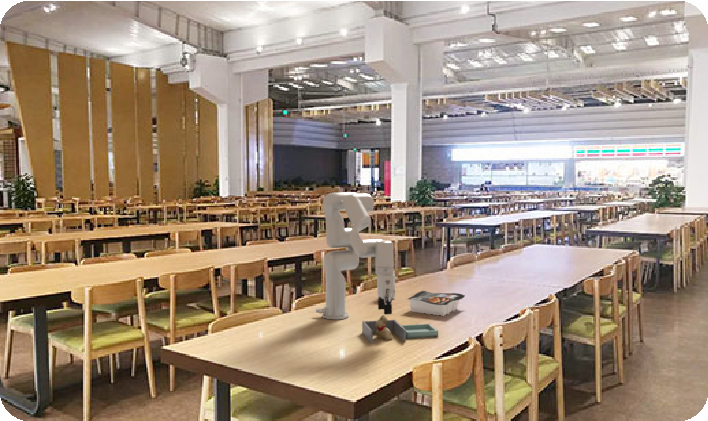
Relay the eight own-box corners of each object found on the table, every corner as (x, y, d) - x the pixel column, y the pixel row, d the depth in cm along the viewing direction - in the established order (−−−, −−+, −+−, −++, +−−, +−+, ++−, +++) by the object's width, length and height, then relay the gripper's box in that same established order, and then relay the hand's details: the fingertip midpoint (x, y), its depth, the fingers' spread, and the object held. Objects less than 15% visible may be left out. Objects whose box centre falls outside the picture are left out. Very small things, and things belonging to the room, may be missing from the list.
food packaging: (446, 303, 266) (403, 298, 277) (446, 319, 266) (403, 313, 278) (465, 294, 287) (424, 289, 299) (465, 308, 287) (424, 303, 299)
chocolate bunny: (386, 334, 238) (386, 311, 238) (393, 339, 231) (394, 315, 231) (374, 336, 236) (374, 312, 236) (381, 341, 229) (381, 317, 229)
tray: (407, 338, 233) (407, 332, 233) (399, 330, 244) (399, 325, 244) (438, 336, 236) (438, 330, 235) (429, 329, 247) (429, 323, 247)
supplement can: (382, 300, 305) (382, 273, 304) (378, 297, 313) (378, 270, 312) (396, 299, 307) (397, 272, 307) (391, 296, 315) (392, 270, 314)
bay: (370, 343, 225) (370, 331, 225) (362, 332, 241) (362, 321, 241) (405, 341, 228) (405, 329, 228) (395, 331, 244) (395, 319, 244)
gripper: (399, 273, 224) (399, 315, 225) (387, 267, 241) (388, 307, 242) (380, 274, 223) (381, 316, 223) (371, 268, 240) (371, 307, 240)
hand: (384, 311), depth 233 cm, fingers open, 9 cm apart
